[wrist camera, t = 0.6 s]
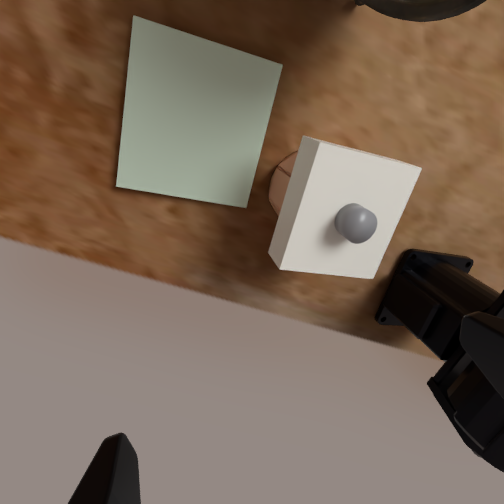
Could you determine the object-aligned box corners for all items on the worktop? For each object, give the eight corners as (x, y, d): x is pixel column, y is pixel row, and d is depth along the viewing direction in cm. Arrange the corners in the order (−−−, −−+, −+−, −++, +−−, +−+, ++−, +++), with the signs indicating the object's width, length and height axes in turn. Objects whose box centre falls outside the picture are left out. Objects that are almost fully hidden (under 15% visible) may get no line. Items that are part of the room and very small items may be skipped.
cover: (397, 159, 18) (437, 173, 15) (355, 263, 20) (384, 289, 17) (302, 135, 16) (331, 146, 13) (268, 252, 18) (286, 280, 16)
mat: (279, 64, 17) (282, 64, 17) (243, 205, 20) (246, 207, 20) (133, 17, 15) (133, 15, 15) (116, 183, 18) (116, 186, 17)
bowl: (350, 157, 21) (385, 171, 18) (325, 227, 22) (353, 251, 19) (281, 140, 19) (306, 152, 16) (260, 217, 21) (279, 241, 18)
